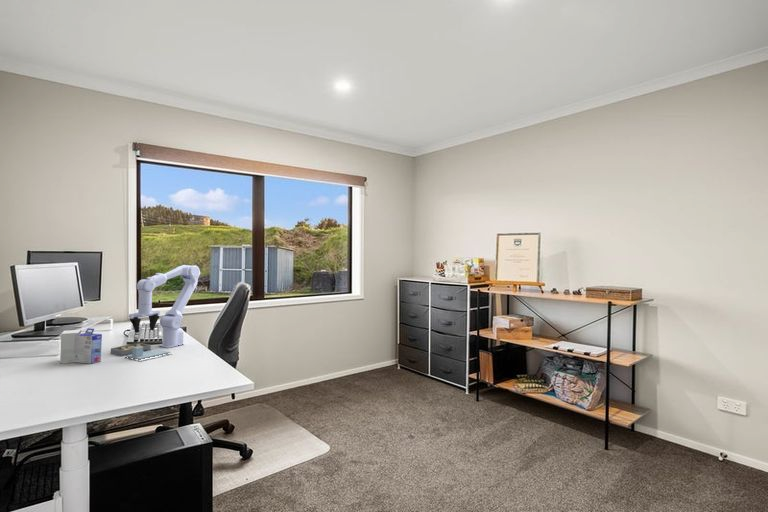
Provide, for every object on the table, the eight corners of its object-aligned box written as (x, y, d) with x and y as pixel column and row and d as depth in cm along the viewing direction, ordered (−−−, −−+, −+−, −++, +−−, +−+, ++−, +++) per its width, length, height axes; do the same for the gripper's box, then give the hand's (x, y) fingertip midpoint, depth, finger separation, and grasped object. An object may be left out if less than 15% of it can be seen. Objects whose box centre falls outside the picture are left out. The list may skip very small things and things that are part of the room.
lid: (156, 350, 201) (157, 341, 201) (169, 353, 197) (169, 343, 197) (126, 357, 188) (127, 346, 188) (139, 360, 184) (140, 349, 184)
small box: (78, 362, 179) (78, 332, 179) (59, 363, 176) (60, 333, 175) (80, 357, 186) (81, 329, 186) (62, 359, 182) (63, 330, 182)
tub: (139, 347, 207) (139, 342, 207) (150, 350, 203) (150, 345, 203) (110, 353, 194) (110, 348, 194) (121, 356, 190) (122, 350, 190)
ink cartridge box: (102, 360, 182) (102, 328, 182) (91, 364, 176) (92, 331, 176) (83, 359, 183) (83, 327, 183) (71, 362, 178) (72, 329, 178)
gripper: (154, 301, 208) (153, 328, 209) (125, 304, 195) (124, 332, 196) (162, 302, 205) (162, 329, 205) (134, 305, 192) (133, 334, 192)
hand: (144, 331), depth 200 cm, fingers open, 7 cm apart
